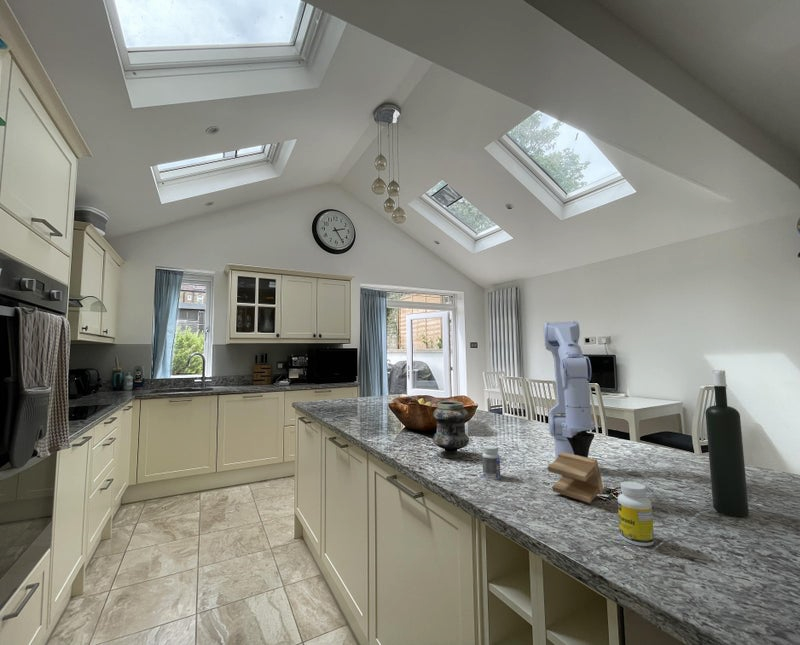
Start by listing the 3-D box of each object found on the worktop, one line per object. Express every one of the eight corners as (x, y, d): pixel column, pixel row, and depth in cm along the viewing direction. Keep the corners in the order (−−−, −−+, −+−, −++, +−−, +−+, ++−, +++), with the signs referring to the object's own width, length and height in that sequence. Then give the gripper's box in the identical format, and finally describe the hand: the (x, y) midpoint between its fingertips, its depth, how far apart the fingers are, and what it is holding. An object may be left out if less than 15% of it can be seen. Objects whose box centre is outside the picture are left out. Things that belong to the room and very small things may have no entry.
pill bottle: (501, 480, 100) (499, 449, 101) (483, 480, 101) (482, 448, 102) (499, 475, 105) (498, 444, 106) (482, 474, 106) (481, 444, 107)
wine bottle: (752, 518, 76) (738, 371, 78) (715, 512, 79) (704, 370, 81) (745, 508, 81) (732, 369, 83) (711, 503, 84) (699, 369, 86)
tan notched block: (553, 494, 90) (567, 481, 94) (590, 506, 83) (603, 491, 87) (546, 463, 90) (560, 451, 93) (583, 473, 82) (597, 459, 86)
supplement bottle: (613, 533, 71) (610, 480, 72) (639, 531, 71) (636, 479, 72) (633, 548, 65) (629, 490, 66) (662, 546, 66) (658, 489, 67)
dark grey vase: (472, 461, 118) (470, 404, 120) (434, 462, 118) (433, 405, 120) (466, 451, 130) (464, 399, 132) (432, 452, 131) (431, 400, 132)
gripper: (573, 402, 99) (576, 455, 98) (548, 408, 89) (551, 466, 88) (601, 404, 94) (605, 459, 93) (578, 410, 84) (582, 472, 83)
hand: (581, 463), depth 90 cm, fingers closed, pressing on tan notched block
